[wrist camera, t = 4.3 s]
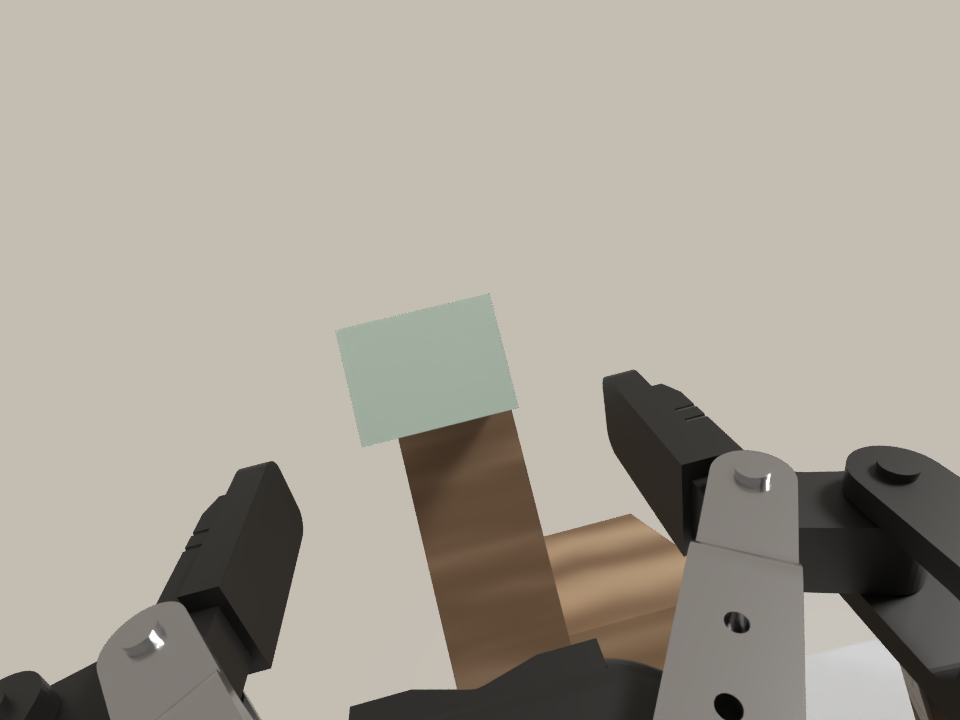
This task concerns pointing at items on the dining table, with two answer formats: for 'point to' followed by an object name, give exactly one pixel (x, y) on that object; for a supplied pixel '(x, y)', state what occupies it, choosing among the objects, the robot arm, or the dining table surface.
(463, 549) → the brown wooden tall block
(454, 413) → the sage bar
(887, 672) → the dining table surface
